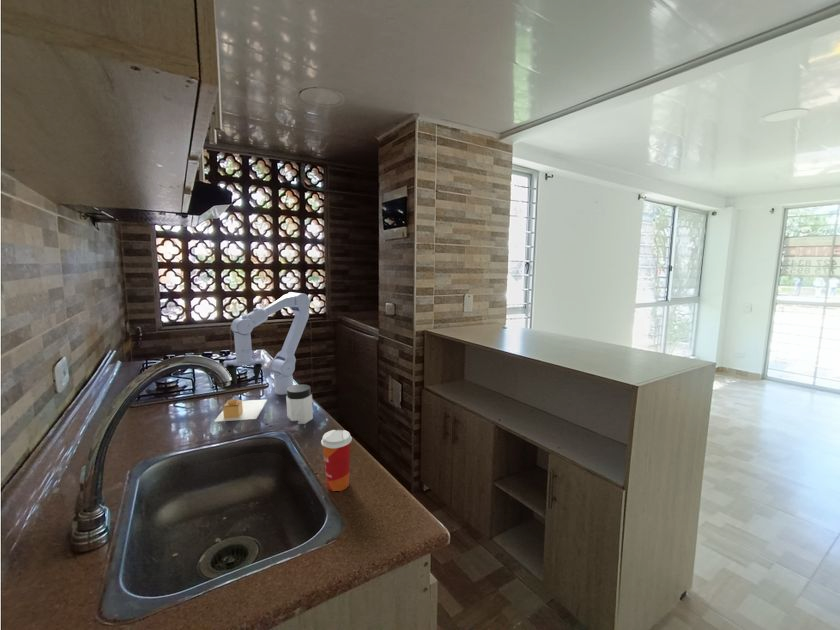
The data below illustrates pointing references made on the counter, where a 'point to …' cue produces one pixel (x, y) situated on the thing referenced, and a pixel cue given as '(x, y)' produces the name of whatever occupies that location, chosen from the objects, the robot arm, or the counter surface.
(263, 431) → the counter surface
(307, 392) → the jar
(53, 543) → the counter surface
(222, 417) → the white board
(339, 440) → the paper cup
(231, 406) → the orange domed block
